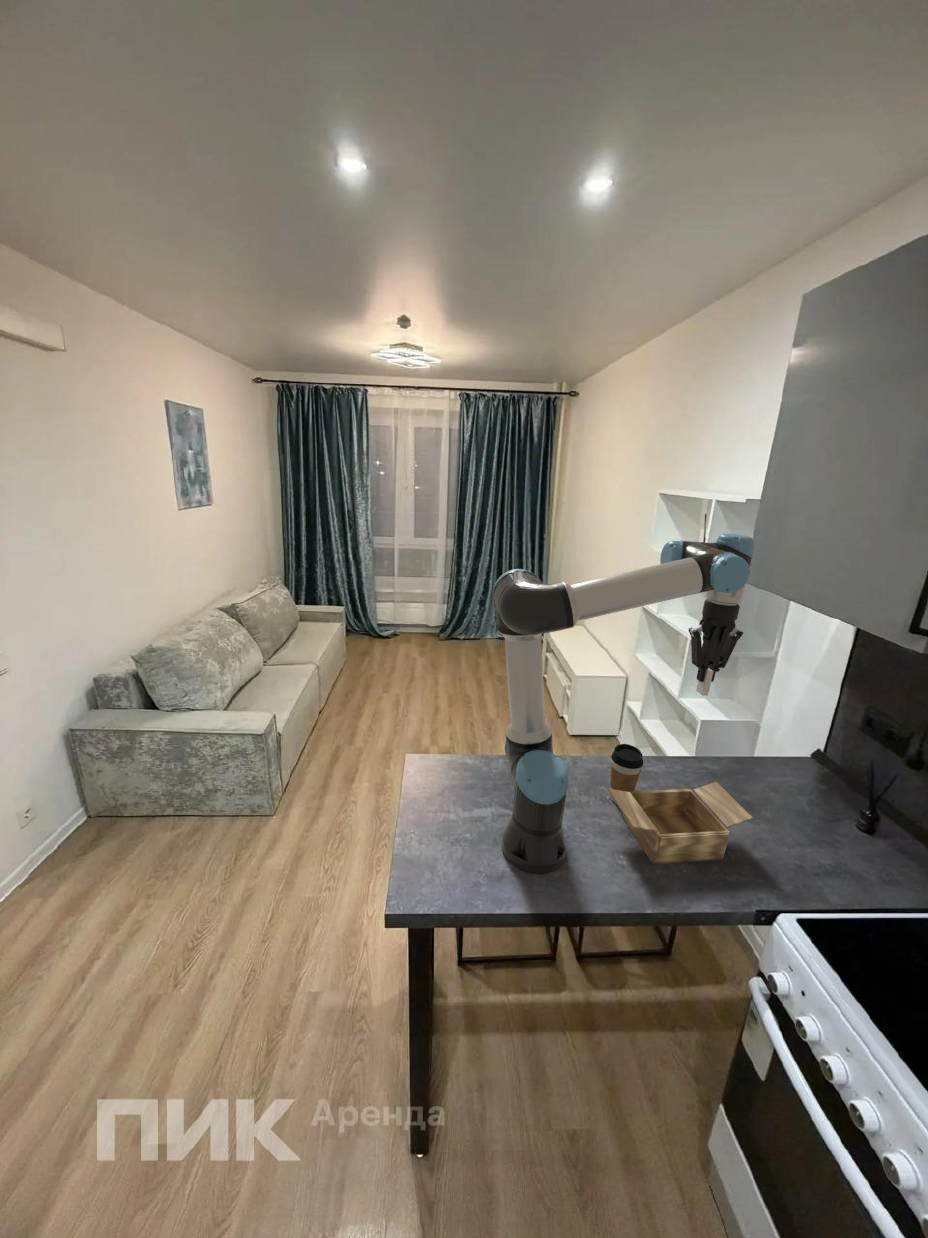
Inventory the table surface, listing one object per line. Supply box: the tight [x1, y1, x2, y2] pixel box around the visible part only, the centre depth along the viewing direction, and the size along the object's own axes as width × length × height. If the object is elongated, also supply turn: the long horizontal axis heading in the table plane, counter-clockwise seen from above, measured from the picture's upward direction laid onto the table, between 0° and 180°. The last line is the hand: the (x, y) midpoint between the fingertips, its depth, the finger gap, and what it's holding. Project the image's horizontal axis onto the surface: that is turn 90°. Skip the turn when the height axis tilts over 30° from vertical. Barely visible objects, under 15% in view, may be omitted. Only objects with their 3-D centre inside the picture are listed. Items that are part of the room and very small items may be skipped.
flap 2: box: [693, 781, 754, 829], centre depth 125 cm, size 1×14×6 cm
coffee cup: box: [609, 743, 644, 804], centre depth 138 cm, size 8×8×15 cm
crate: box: [622, 788, 731, 865], centre depth 124 cm, size 18×17×8 cm
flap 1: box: [607, 787, 658, 832], centre depth 121 cm, size 1×14×6 cm
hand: (702, 693), depth 124 cm, fingers closed
